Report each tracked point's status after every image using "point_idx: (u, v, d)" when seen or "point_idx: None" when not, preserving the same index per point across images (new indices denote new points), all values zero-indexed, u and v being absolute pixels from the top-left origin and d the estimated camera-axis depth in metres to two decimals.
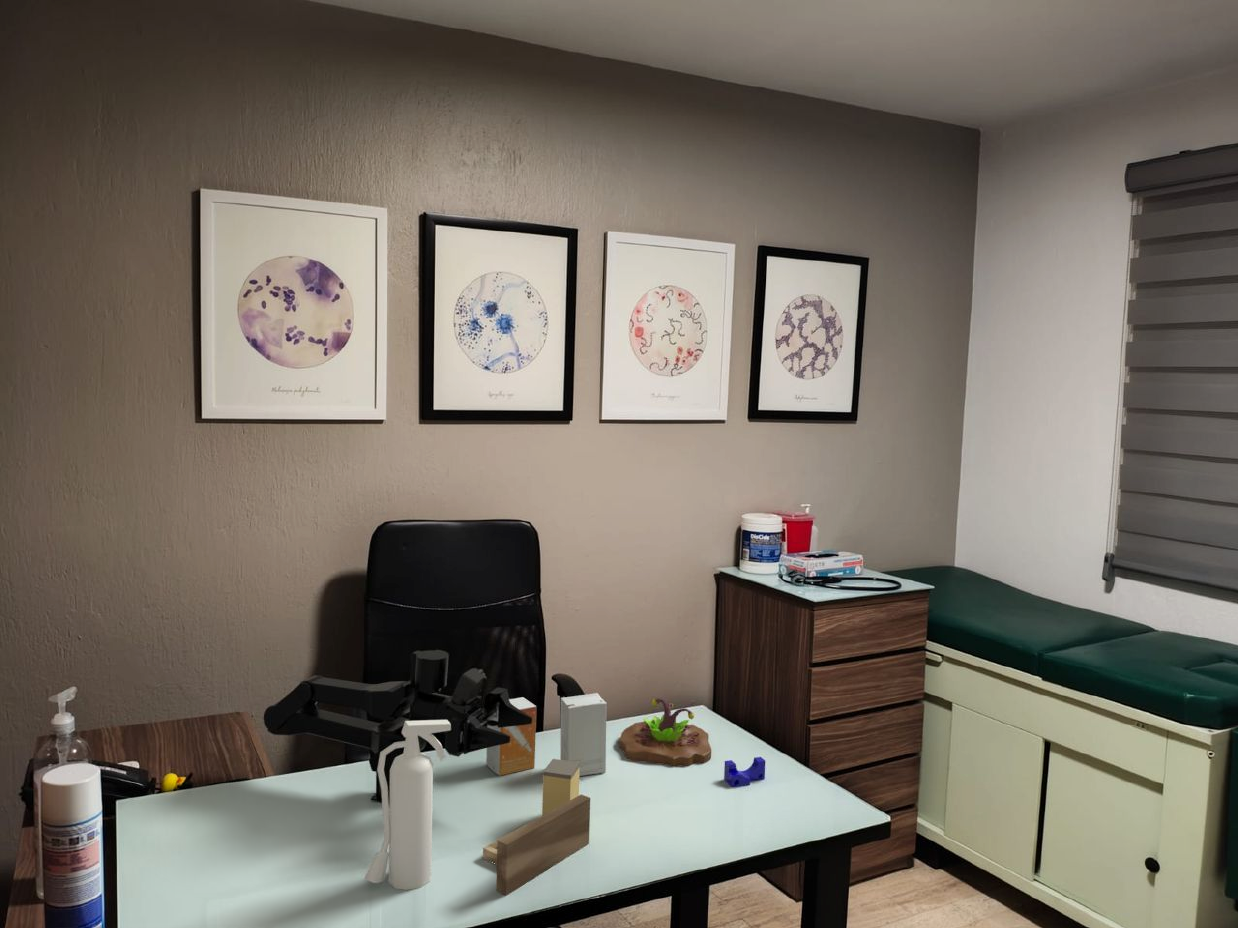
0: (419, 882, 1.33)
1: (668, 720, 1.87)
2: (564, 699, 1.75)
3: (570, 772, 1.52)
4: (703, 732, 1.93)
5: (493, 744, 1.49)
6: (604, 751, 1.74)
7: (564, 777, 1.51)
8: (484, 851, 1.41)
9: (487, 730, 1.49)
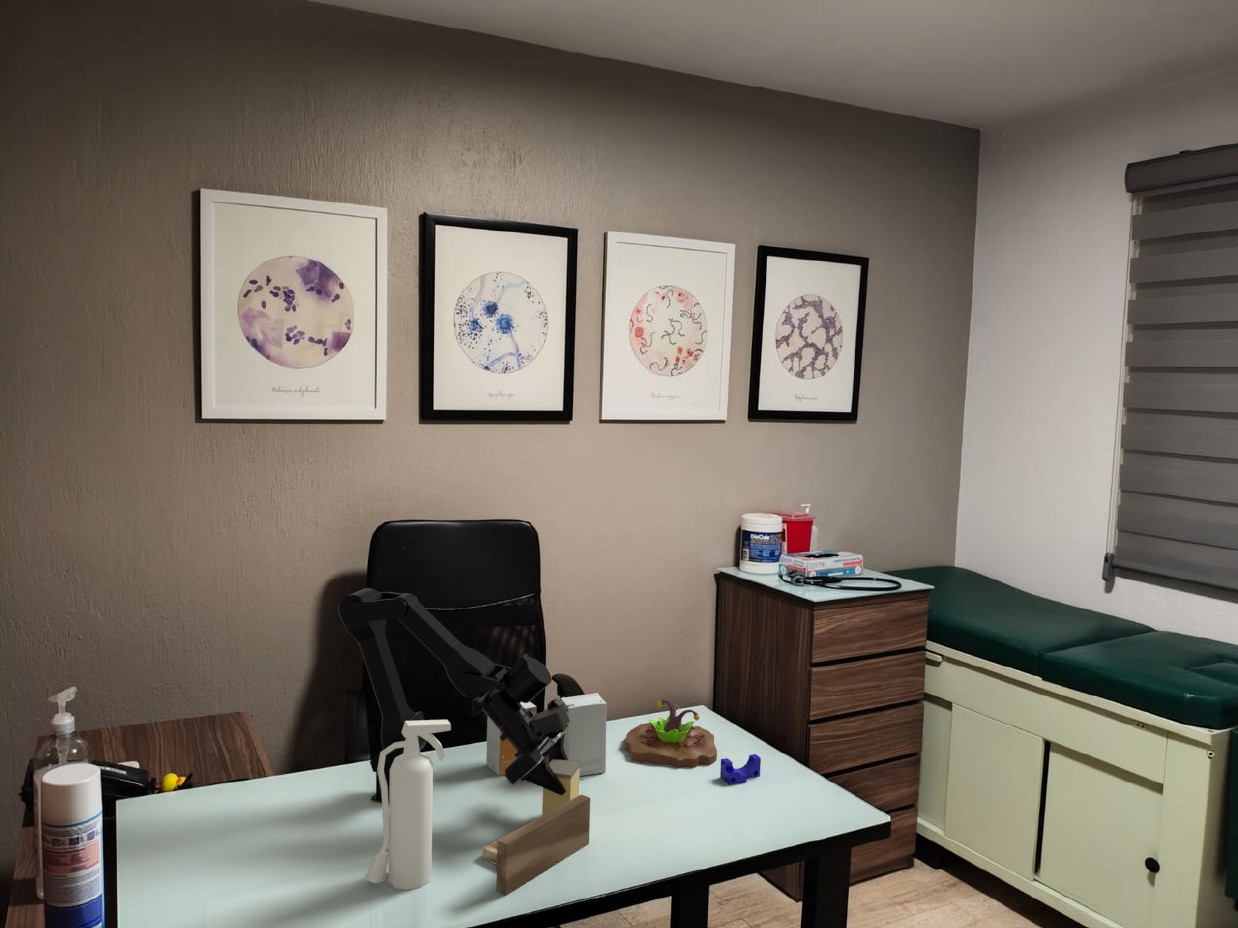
0: (419, 882, 1.33)
1: (673, 721, 1.87)
2: (564, 699, 1.75)
3: (570, 771, 1.52)
4: (709, 733, 1.92)
5: (547, 787, 1.51)
6: (604, 751, 1.74)
7: (564, 777, 1.51)
8: (484, 851, 1.41)
9: (552, 775, 1.50)
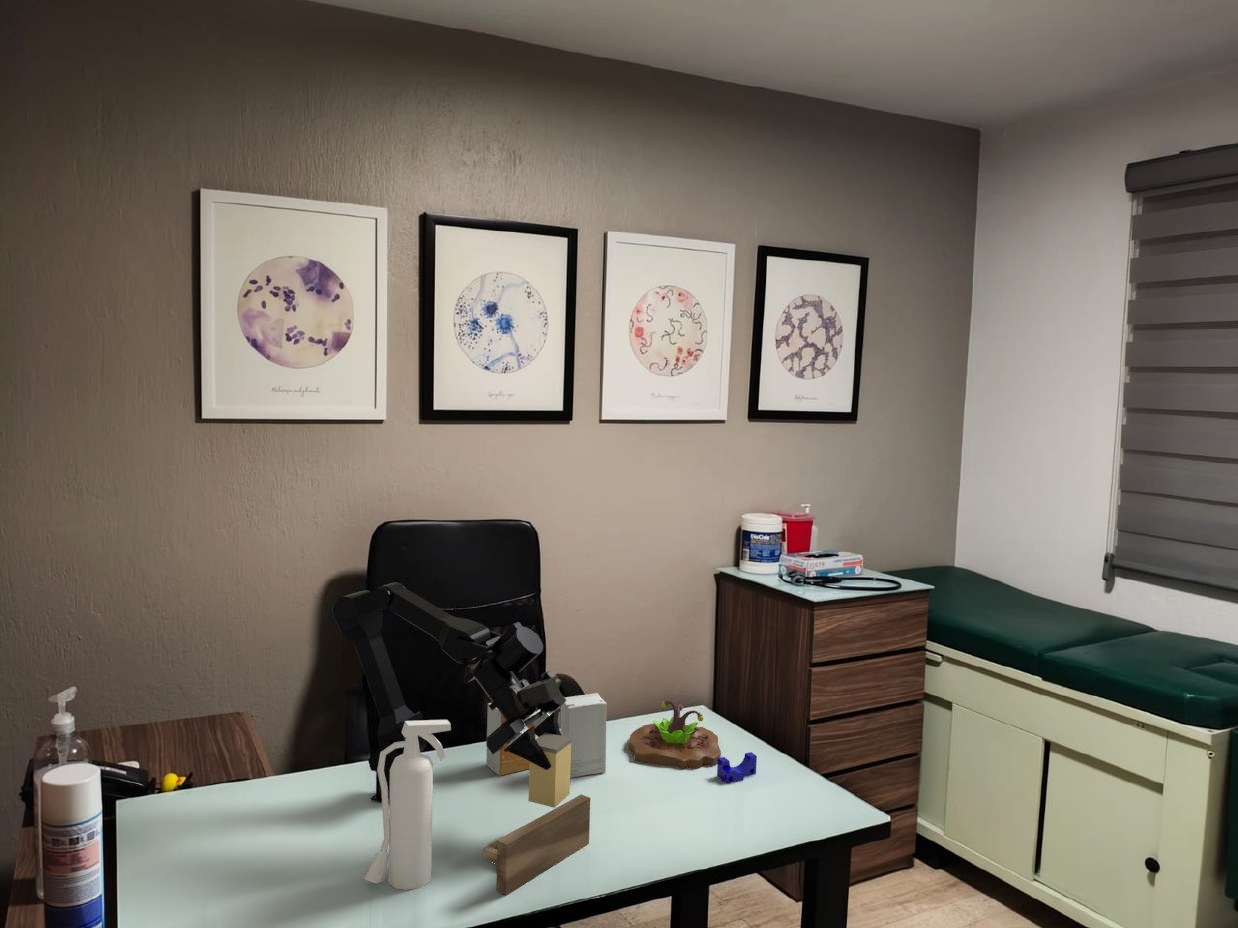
0: (419, 882, 1.33)
1: (677, 722, 1.86)
2: None
3: (557, 746, 1.46)
4: (712, 734, 1.91)
5: (532, 761, 1.45)
6: (604, 751, 1.74)
7: (550, 751, 1.45)
8: (484, 851, 1.41)
9: (536, 748, 1.45)
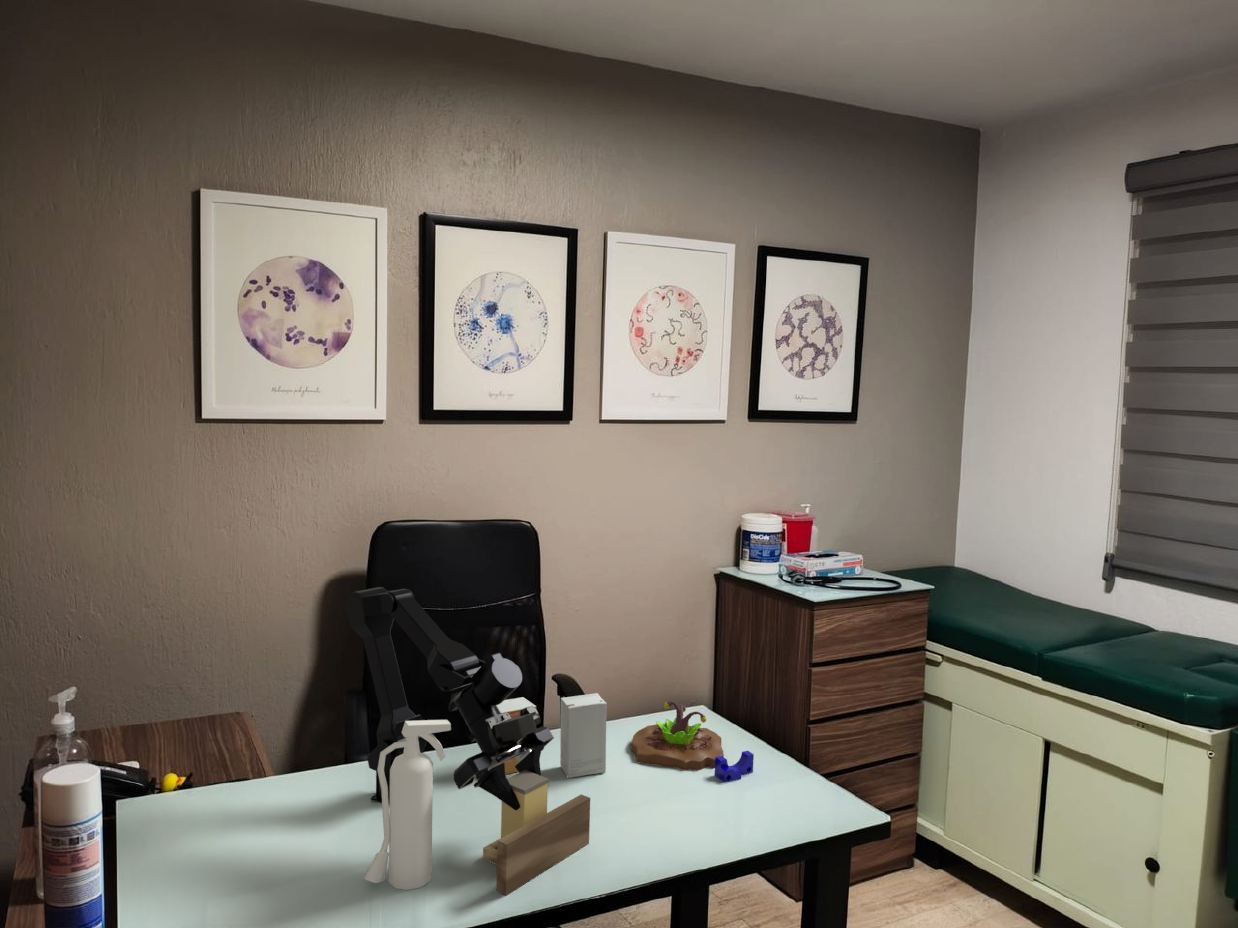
0: (419, 882, 1.33)
1: (680, 723, 1.86)
2: (564, 699, 1.75)
3: (528, 786, 1.39)
4: (716, 736, 1.91)
5: (502, 799, 1.40)
6: (604, 751, 1.74)
7: (519, 791, 1.39)
8: (484, 851, 1.41)
9: (505, 786, 1.39)
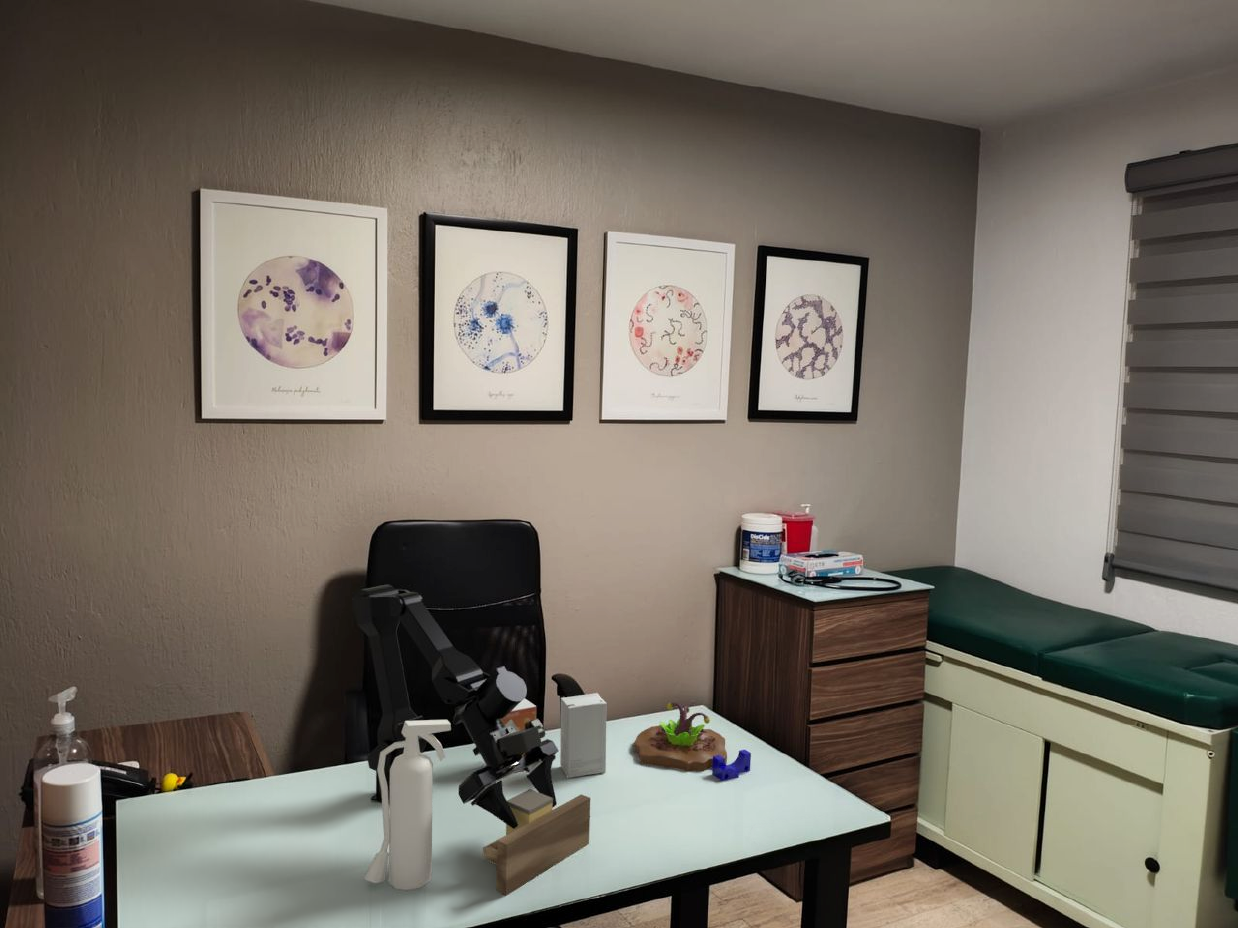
0: (419, 882, 1.33)
1: (684, 724, 1.85)
2: (564, 699, 1.75)
3: (533, 806, 1.39)
4: (720, 737, 1.90)
5: (500, 817, 1.38)
6: (604, 751, 1.74)
7: (524, 811, 1.38)
8: (484, 851, 1.41)
9: (503, 804, 1.37)
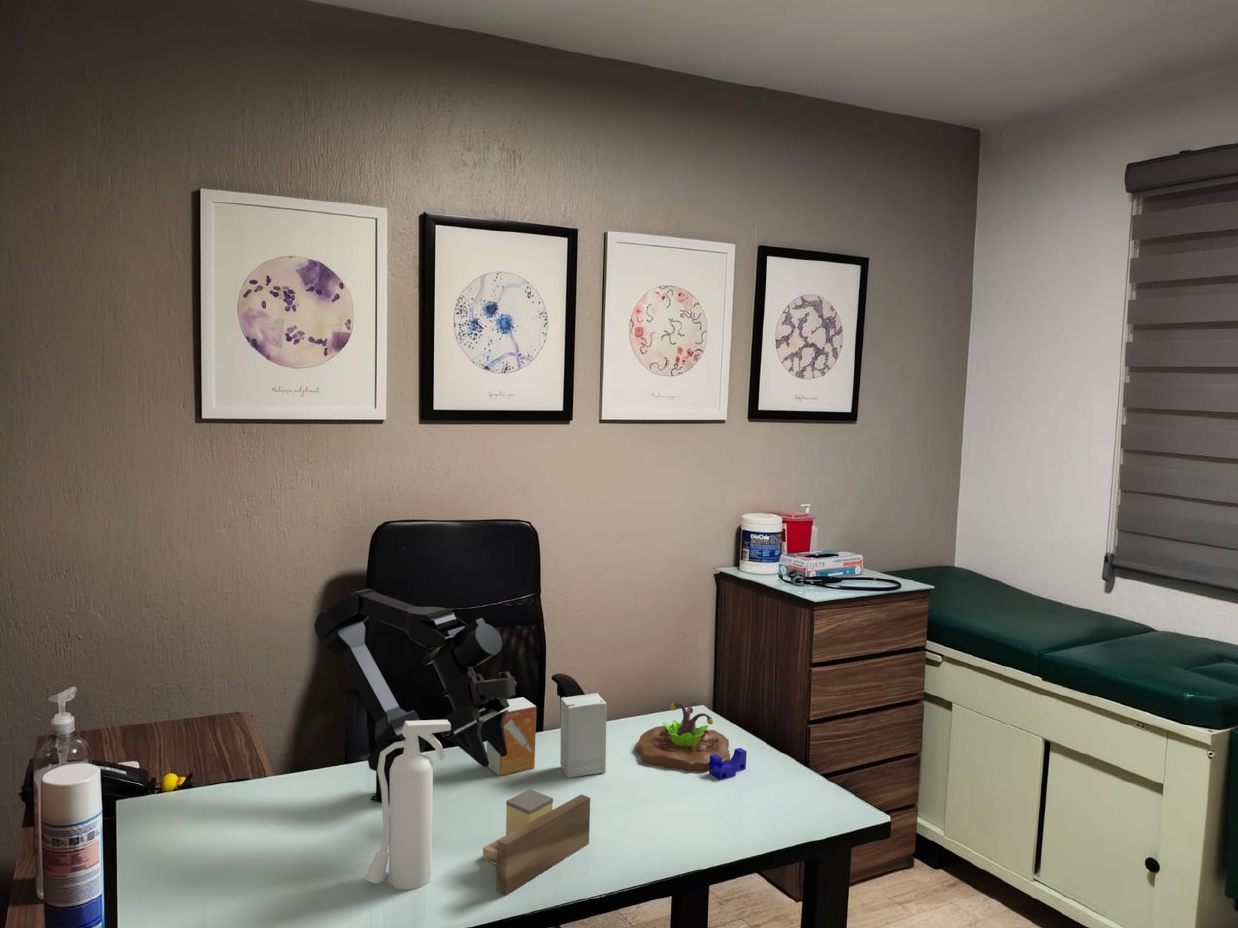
0: (419, 882, 1.33)
1: (687, 725, 1.85)
2: (564, 699, 1.75)
3: (533, 806, 1.39)
4: (723, 738, 1.90)
5: (472, 755, 1.44)
6: (604, 751, 1.74)
7: (524, 811, 1.38)
8: (484, 851, 1.41)
9: (480, 742, 1.44)
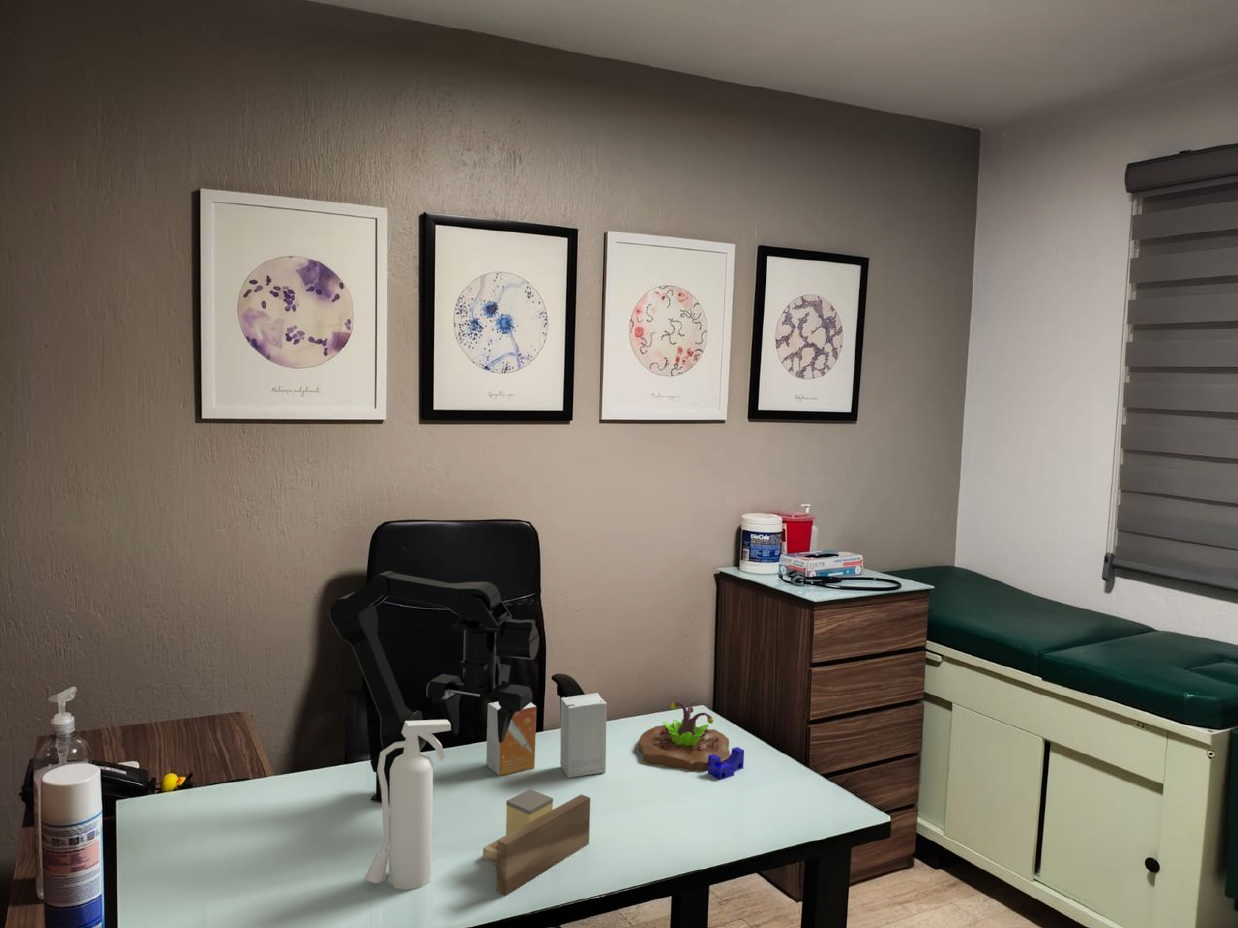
0: (419, 882, 1.33)
1: (687, 724, 1.86)
2: (564, 699, 1.75)
3: (533, 806, 1.39)
4: (724, 737, 1.90)
5: (503, 731, 1.55)
6: (604, 751, 1.74)
7: (524, 811, 1.38)
8: (484, 851, 1.41)
9: None
